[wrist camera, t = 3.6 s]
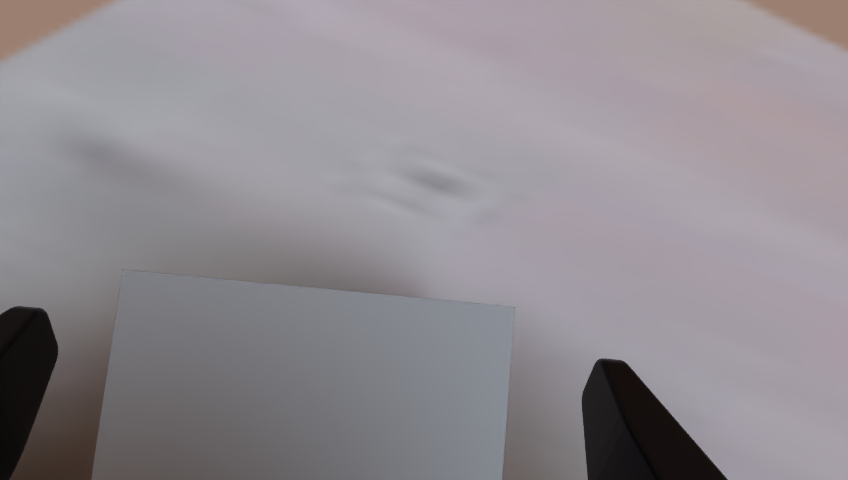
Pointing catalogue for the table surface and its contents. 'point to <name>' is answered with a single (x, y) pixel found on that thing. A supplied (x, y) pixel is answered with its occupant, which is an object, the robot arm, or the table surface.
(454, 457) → the light grey rectangular block
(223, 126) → the table surface
